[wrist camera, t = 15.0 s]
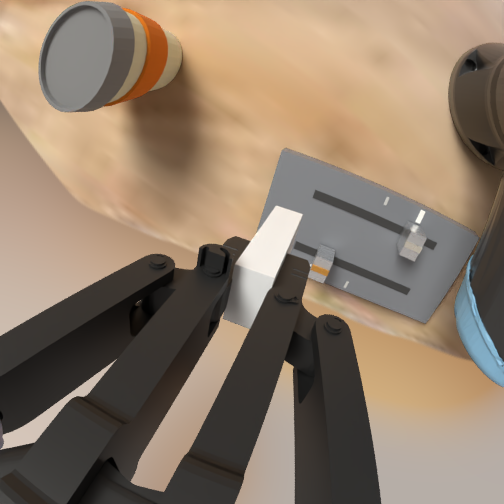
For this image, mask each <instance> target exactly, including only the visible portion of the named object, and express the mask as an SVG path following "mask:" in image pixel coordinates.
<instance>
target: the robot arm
mask: <svg viewBox="0 0 504 504" xmlns="http://www.w3.org/2000/svg"><path fill="white" fill-rule="evenodd" d="M449 105H450V111H451V115H452V118H453V122H454V124H455V127H456V129H457V131H458V133H459V135H460V137H461V138H462V140H463V141H464V143H465V144H466V145H467V147H468V148H469V149H470V150H471V151H472V152H473V153H474V154H475V155H476V156H477V157H479V158H480V159H481V160H483V161H484V162H486V163H488V164H490V165H491V166H493V167H495V168H498V169H500V170H504V44H502V43H486V44H482V45H479V46H477V47H474V48H472V49H470V50H469V51H467V52H466V53H465V54H463V55H462V56H461V58H460V59H459V60H458V61H457V63H456V65H455V67H454V69H453V71H452V74H451V78H450V82H449ZM302 215H303V214H300V213H297V212H294V211H291V210H288V209H285V208H282V207H279V206H275V208H274V209H273V211H272V212H271V213H270V215H269V216H268V218H267V219H266V221H265V222H264V223H263V225H262V226H261V228H260V229H259V230H258V232H257V233H256V235H255V236H254V238H253V239H252V240H251V241H248V240H245V239H242V238H240V237H237V236H235V237H232V238H230V239H228V240H227V241H226V242H225V243H224V244H223V246H222V245H218V244H206V245H203V246H201V247H200V248H199V254H198V261H197V266H196V267H195V268H194V270H185V269H179V268H175V263H174V261H173V260H172V259H171V258H170V257H168V256H166V255H162V254H151V255H148V256H145V257H143V258H141V259H139V260H137V261H135V262H134V263H132V264H130V265H128V266H126V267H124V268H122V269H120V270H118V271H116V272H114V273H113V274H111V275H109V276H107V277H105V278H103V279H101V280H99V281H98V282H96V283H94V284H92V285H90V286H88V287H86V288H84V289H83V290H81V291H79V292H77V293H75V294H74V295H72V296H70V297H68V298H66V299H64V300H63V301H61V302H59V303H57V304H55V305H54V306H52V307H50V308H48V309H46V310H45V311H43V312H41V313H39V314H38V315H36V316H34V317H32V318H31V319H29V320H27V321H26V322H24V323H22V324H20V325H19V326H17V327H15V328H14V329H12V330H10V331H8V332H7V333H5V334H3V335H2V336H0V449H1V448H2V446H3V444H4V441H3V438H2V436H3V434H6V433H9V432H11V431H14V430H16V429H18V428H20V427H22V426H24V425H25V424H27V423H29V422H30V421H32V420H33V419H35V418H36V417H37V416H39V415H40V414H42V413H43V412H44V411H46V410H47V409H49V408H50V407H51V406H53V405H54V404H55V403H57V402H58V401H60V400H61V399H62V398H64V397H65V396H67V395H68V394H69V393H71V392H72V391H73V390H75V389H76V388H78V387H79V386H80V385H82V384H83V383H84V382H86V381H87V380H89V379H90V378H91V377H93V376H94V375H95V374H97V373H98V372H100V371H101V370H102V369H104V368H105V367H106V366H108V365H109V364H110V363H112V362H113V361H115V360H116V359H117V358H118V359H117V360H116V361H115V362H114V363H113V365H112V366H111V367H110V368H109V370H108V371H107V372H106V373H105V374H104V376H103V377H102V378H101V379H100V380H99V382H98V383H97V384H96V385H95V387H94V388H93V389H92V390H91V392H90V393H89V394H88V395H87V396H85V397H79V396H77V397H74V398H72V399H71V400H70V401H69V402H68V403H67V404H66V405H65V406H64V407H63V409H62V410H61V411H60V412H59V413H58V415H57V416H56V417H55V418H54V420H53V421H52V422H51V423H50V425H49V426H48V427H47V428H46V430H45V431H44V432H43V433H42V435H41V436H40V437H39V438H38V440H37V441H36V442H35V443H31V444H26V445H22V446H17V447H12V448H7V449H2V450H0V504H235V501H236V499H237V496H238V494H239V491H240V489H241V486H242V483H243V480H244V473H245V470H246V468H247V465H248V462H249V460H250V457H251V454H252V452H253V449H254V446H255V444H256V441H257V438H258V436H259V433H260V430H261V427H262V424H263V422H264V419H265V416H266V413H267V410H268V407H269V405H270V402H271V399H272V396H273V393H274V390H275V387H276V384H277V381H278V378H279V375H280V372H281V369H282V365H283V363H284V360H285V361H286V362H288V363H289V364H291V365H293V366H294V368H293V385H294V426H295V427H294V430H295V504H381V498H380V489H379V482H378V475H377V467H376V460H375V454H374V448H373V441H372V435H371V429H370V423H369V418H368V412H367V407H366V402H365V397H364V391H363V386H362V381H361V377H360V372H359V367H358V363H357V358H356V354H355V349H354V345H353V340H352V336H351V332H350V329H349V326H348V325H347V324H346V323H345V322H344V320H342V319H340V318H339V317H337V316H334V315H326V314H324V315H321V316H319V317H318V318H316V317H315V316H313V315H312V314H310V313H309V312H308V311H307V310H306V309H305V308H304V306H303V305H302V296H303V293H304V289H305V286H306V282H307V279H308V275H309V271H310V268H311V267H310V264H309V262H308V260H306V259H303V258H300V257H297V256H294V255H291V254H290V253H291V250H292V247H293V244H294V241H295V237H296V234H297V231H298V228H299V225H300V222H301V218H302ZM140 300H141V301H140ZM138 301H139V302H138ZM137 302H138V303H137ZM223 312H224V316H223V319H225V320H228V321H230V322H233V323H235V324H238V325H241V326H243V327H246V328H249V329H250V330H249V332H248V334H247V336H246V338H245V340H244V343H243V345H242V347H241V349H240V351H239V353H238V355H237V357H236V359H235V361H234V363H233V365H232V367H231V369H230V371H229V373H228V375H227V378H226V379H225V381H224V384H223V386H222V388H221V390H220V392H219V394H218V396H217V398H216V400H215V402H214V404H213V406H212V408H211V410H210V412H209V414H208V415H207V418H206V419H205V421H204V423H203V425H202V427H201V429H200V431H199V433H198V435H197V437H196V439H195V441H194V443H193V445H192V447H191V449H190V450H189V452H188V453H187V454H186V455H185V456H184V457H183V459H182V460H181V462H180V464H179V465H178V467H177V469H176V471H175V473H174V475H173V477H172V478H171V480H170V482H169V484H168V486H167V488H166V490H165V491H164V492H160V491H156V490H152V489H148V488H144V487H140V486H137V485H134V484H132V483H131V482H130V481H131V479H132V478H133V476H134V474H135V471H136V469H137V465H138V461H139V459H140V457H141V455H142V453H143V452H144V450H145V449H146V447H147V445H148V444H149V442H150V440H151V439H152V437H153V435H154V434H155V432H156V430H157V429H158V427H159V425H160V423H161V422H162V420H163V419H164V417H165V415H166V414H167V412H168V410H169V409H170V407H171V405H172V403H173V402H174V400H175V399H176V397H177V395H178V394H179V392H180V390H181V389H182V387H183V385H184V383H185V382H186V380H187V379H188V377H189V375H190V374H191V372H192V370H193V369H194V367H195V365H196V363H197V362H198V360H199V358H200V357H201V355H202V353H203V352H204V350H205V348H206V347H207V345H208V343H209V341H210V340H211V338H212V337H213V335H214V333H215V332H216V330H217V328H218V326H219V322H220V317H221V316H222V314H223ZM454 312H455V317H456V326H457V330H458V333H459V336H460V338H461V341H462V343H463V345H464V347H465V349H466V350H467V352H468V354H469V355H470V357H471V358H472V360H473V361H474V363H475V364H476V365H477V366H478V368H479V369H480V370H481V371H482V372H483V373H484V374H485V375H486V376H487V377H488V378H489V379H491V380H492V381H493V382H495V383H496V384H498V385H500V386H501V387H504V173H503V176H502V178H501V182H500V185H499V188H498V192H497V195H496V198H495V201H494V204H493V207H492V210H491V213H490V215H489V218H488V221H487V224H486V226H485V229H484V231H483V234H482V237H481V239H480V242H479V244H478V246H477V248H476V251H475V253H474V255H472V256H471V258H470V260H469V262H468V264H467V268H466V274H465V277H464V279H463V282H462V284H461V287H460V289H459V291H458V294H457V296H456V300H455V308H454Z"/></svg>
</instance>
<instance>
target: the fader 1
mask: <svg viewBox="0 0 504 504" xmlns="http://www.w3.org/2000/svg"><path fill="white" fill-rule="evenodd" d="M334 255H335V250H334V249H331V248H329V247H326V246H324V245H321V244H320V245H319V248H318V250H317V252H316V255H315V257H314V259H313V262H312V264H311V268H310V271H309V275H308V278H311V279H313V280H316V281H318V282H321V283H324V281H325V279H326V277H327V275H328V273H329V270H330V268H331V266H332V264H333V260H334Z"/></svg>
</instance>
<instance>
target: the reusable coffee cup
mask: <svg viewBox="0 0 504 504" xmlns="http://www.w3.org/2000/svg"><path fill="white" fill-rule="evenodd" d="M181 62H182V48H181V45H180V42H179V40H178V39H177V37H176V36H175V35H174V34H172V33H171V32H169V31H167V30H165V29H163V28H161V26H160V25H159V24H157V23H156V22H155V21H153V20H151V19H149V18H147V17H145V16H143V15H141V14H139V13H137V12H134V11H132V10H130V9H125V8H121V7H120V6H118V5H116V4H113V3H108V2H93V1H84V2H79V3H76V4H74V5H72V6H70V7H69V8H67V9H66V10H65V11H63V12H62V13H61V14H60V15H59V16H58V17H57V19H56V20H55V21H54V23H53V24H52V25H51V27H50V29H49V31H48V32H47V34H46V37H45V39H44V42H43V44H42V48H41V52H40V58H39V81H40V85H41V89H42V92H43V94H44V96H45V98H46V100H47V101H48V102H49V104H50V105H51V106H53V107H54V108H55V109H57V110H59V111H61V112H87V111H94V110H96V109H99V108H101V107H103V106H112V105H115V104H118V103H121V102H124V101H128V100H131V99H134V98H137V97H140V96H142V95H144V94H145V93H147V92H149V91H152V90H156V89H160V88H162V87H164V86H166V85H167V84H168V83H170V82H171V81H172V80H173V78H174V77H175V76H176V74H177V73H178V71H179V68H180V66H181Z"/></svg>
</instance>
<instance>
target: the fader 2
mask: <svg viewBox="0 0 504 504" xmlns="http://www.w3.org/2000/svg"><path fill="white" fill-rule="evenodd" d="M426 239H427V238H426V235H425V233H424V231H423V228H422V227H420V226H418V225H416V224H414V223H412V222H410V221H407V222H406V225H405V227H404V229H403V231H402V233H401V235H400V237H399V239H398V241H397V247H398V251H399V255H401V256H403V257H405V258H408V259H410V260H412V261H414V262H415V260H416V258H417V256H418V254H420V252H421V250H422V247H423V245H424V243H425V241H426Z"/></svg>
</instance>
